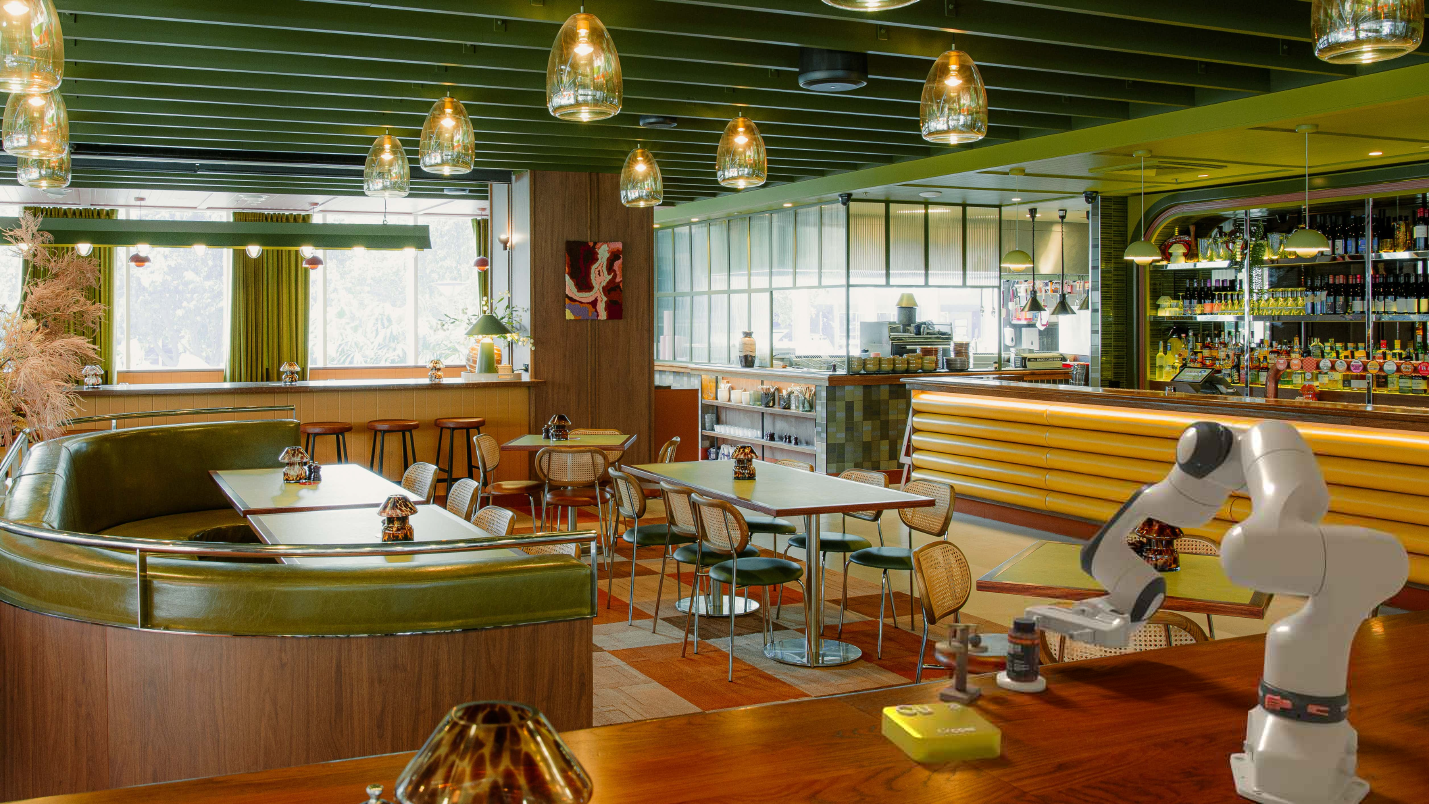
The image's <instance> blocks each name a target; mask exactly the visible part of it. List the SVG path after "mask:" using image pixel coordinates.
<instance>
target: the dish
mask: <svg viewBox="0 0 1429 804" xmlns="http://www.w3.org/2000/svg"><path fill="white" fill-rule="evenodd" d="M996 684H997V685H998V686H1000V688H1004V689H1005V690H1009V691H1012V692H1013V691H1014V692H1018V693H1019V692H1020V693H1038V692H1039V693H1040V692H1043V691H1044V690H1046V687H1047V686H1046V685H1047V681H1046V679H1045V678H1044V677H1043V676H1040V675H1038V679H1037V680H1036V681H1033V682H1019V681H1015V680H1011V679H1010V678H1008V677H1007V675H1006V671H1001V672H999V673H997V675H996Z"/></svg>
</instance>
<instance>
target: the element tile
mask: <svg viewBox="0 0 1429 804" xmlns="http://www.w3.org/2000/svg"><path fill="white" fill-rule="evenodd" d="M881 734H882V735H883V736H884V737H886V738H887V739H888V741H890V742H891V743H893V745H895V746H896V747H898V749H900V750H901V751H902V752H903V753H904V754H906V755H907V756H908V757H909V758H910V759H912V760H914V761H915V762H916V763H917V762H918V763H922V764H936V763H949V762H959V761H960V762H961V761H971V760H973V761H974V760H981V759H982V760H983V759H984V760H985V759H995V758H997V757H1000V755H1001V744H1002V742H1001V741H1002V738H1001V737H1002V731H1001V730H1000V728H998V727H997V726H995V725H994V724H992V723H991V722H990V721H988V720H987V719H984V718H983V717H982V716H980V715H979V714H978V713H976V712H975V711H973V710H971V709H970V708H969V707H967V705H963V704H960V703H957V702H950V701H949V702H939V703H937V702H936V703H923V704H910V705H909V704H908V705H906V704H900V705H891V706H885V707H884V708H883V709H882V714H881Z"/></svg>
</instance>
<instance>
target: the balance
mask: <svg viewBox="0 0 1429 804" xmlns="http://www.w3.org/2000/svg"><path fill="white" fill-rule="evenodd" d="M947 629H949V635H948V641H938V642H935V647H934V648H935V649H936V650H937V651H940V652H941V653H942V652H943V653H947V654H956V662H955V663H956V664H955V681H954V682H953V683H951V684H950V685H948V686H947V687H946V688H944V689H943V690H941V692H939V698H938V699H939V700H941V701H946V702H949V703H950V702H957V703H960V704H962V705H964V706H967V705H969V703H971V702H972V701H973V700H975V699H976V698H977V697H978V696H980V695H981V693H982V687H981V686H977V685H973V684H972V685H971V684H969V683H967V681H968V680H967V679H968V661H969V658H968V657H969V653H972V654H985V653H988V652H989V646H988V645H986V644H984V643H982V640H983V639H982V637H981V635H980V634H979V633H978V632H977V630H979V629H980V625H979V624H975V623H947ZM953 630H957V636H956V637H957V638H956V639H957V640H956V642H955V641H952V637H953V636H952V633H953ZM970 630H973V631H974V633H971V634H970Z"/></svg>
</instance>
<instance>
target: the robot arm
mask: <svg viewBox="0 0 1429 804" xmlns="http://www.w3.org/2000/svg"><path fill="white" fill-rule="evenodd" d="M1175 460H1176V463H1175V464H1174V465H1173V467H1172V469H1171V470H1170V472H1169V473H1168V475H1167V476H1166V477H1165V478H1164V479H1163V480H1161V481H1160V482H1157V481H1150V482H1148V483H1146V484H1145V485H1143V486H1141V487H1139V489H1137V490H1135V492H1134V493H1133V494H1131V496H1130V497H1129V498H1128V499H1127V500H1126V501H1125V502H1124V503H1123V504H1122V505H1121V506H1120V508H1119V509H1118V510H1117V511H1116V512H1115V513H1113V516H1111V518H1110V519H1109V520H1108V521H1107V522H1106V523H1105V524H1104V526H1102V527H1101V529H1100V530H1099V531H1098V532H1096V533H1095V535H1093V536H1091V538H1090V539H1089V540H1088V541H1087V542H1086V543H1085V544H1084V545H1083V546H1082V548H1081V549H1080V554H1079V560H1080V569H1081V570H1082V571H1083V572H1084V573H1086V574H1087V575H1088V576H1089V577H1091V578H1092V579H1094V581H1097V582H1098V583H1099V584H1100V585H1101V586H1102V587H1103V588H1104V589H1105V591H1107V592H1108V593H1109V594H1106V595H1103V596H1099V597H1092V598H1088V599H1083V600H1079V601H1077V602H1075V603H1074V604H1073V605H1072V606H1071V607H1070V609H1066V608H1063V607H1059V606H1054V605H1048V604H1046V605H1045V604H1044V605H1034V606H1029V607H1026V608H1025V612H1024V618H1030V619H1033V620H1034V621H1035V628H1034V629H1035V631H1036V630H1042V631H1047V632H1048V633H1052V634H1056V635H1060V636H1064V637H1067V638H1068V641H1071V642H1074V643H1077V642H1081V643H1083V644H1085V645H1096V646H1098V647H1099V646H1100V647H1103V648H1107V649H1117V648H1127V647H1129V645H1130V641H1131V634H1133V633H1134V632H1137V631H1139V630H1140V629H1142V628H1144V626H1145V625H1146V624H1147V623H1148V621H1149V620H1150V619H1151V618H1152V617H1153V616H1155V614H1157V613H1158V612H1159V610H1160V609H1161V608H1162V606H1163V604H1164V602H1165V601H1166V597H1167V582H1166V581H1167V580H1166V579H1165V577H1163V575H1161V574H1160V572H1159V571H1157V569H1155V568H1154V567H1153V566H1152V565H1151V564H1150V563H1149V562H1147V561H1145V560H1144V559H1143V558H1142V557H1141V556H1140V555H1139V554H1137V553H1136V552H1135V550H1133V549H1132V548H1130V546H1129V544H1128V543H1127V537H1128V536H1129V535H1130V533H1132V532H1133V530H1134V529H1135V528H1136V527H1137V526H1138V525H1139V524H1140V523H1141V522H1142V521H1143V519H1145V518H1150V519H1153V520H1157V521H1159V522H1162V523H1165V524H1167V525H1168V526H1172V527H1178V528H1185V529H1186V528H1187V529H1192V528H1198V527H1202V526H1205V525H1206V524H1209V523H1210V522H1211V521H1212V520H1213V519H1214V518H1216V516H1217V514H1218V512H1219V511H1220V510H1221V509H1222V507H1223V506H1224V504H1225V502H1226V501H1227V499H1228V498H1229V497H1230V495H1231V493H1232V492H1235V493H1238V494H1242V495H1243V494H1244V495H1247V496H1250V500H1251V506H1252V511H1251V513H1250V515H1249V516H1248V517H1247V518H1246V519H1244V520H1243V521H1240V522H1238V523H1236V524H1234V525H1232V527H1230V529H1228V530H1227V531H1226V533H1225V534H1224V536H1223V538H1222V540H1221V543H1220V547H1219V563H1220V565H1221V569H1222V571H1223V573H1224V574H1225V576H1226V578H1227V580H1229V581H1230V582H1231V583H1232V584H1233V585H1235V586H1237V587H1241V588H1244V589H1249V590H1252V591H1255V592H1260V593H1265V594H1271V595H1272V594H1274V595H1287V596H1288V595H1289V596H1301V597H1302V596H1303V597H1305V596H1306V597H1309V598H1308V599H1307V602H1306V604H1305V605H1304V606H1303V607H1302V608H1301V609H1300V610H1299V611H1297V612H1296V613H1295V614H1292V615H1289V616H1287V617H1284V618H1281V619H1280V620H1278V621H1276V622H1275V623H1274V624H1273V625H1271V627H1270V628H1269V629H1268V631H1267V634H1266V636H1265V637H1266V638H1265V649H1264V666H1263V676H1262V677H1261V678H1260V681H1259V686H1258V704H1257V705H1256V706H1255V707H1254V708H1251V710H1248V716H1247V728H1246V729H1247V730H1246V739H1245V740H1243V742H1242V746H1241V747H1242V748H1243V751H1244V752H1245V753H1243V752H1241V753H1240V752H1239V753H1232V754H1231V755H1230V760H1229V762H1230V766H1231V771H1232V776H1233V781H1234V783H1235V789H1236V792H1237V794H1238V795H1239V796H1242V797H1244V798H1247V799H1249V800H1252V801H1255V802H1258V803H1261V804H1359V803H1360V802H1361V801H1362V800H1363V799H1364V798H1365V797H1366V796H1367V795H1368V793H1370V789H1371V788H1370V787H1371V786H1370V782H1368V781H1366V780H1365V779H1362V778H1360V777H1358V776H1356V775H1357V773H1358V763H1357V756H1358V753H1359V746H1358V731H1357V730H1356V729H1355V728H1354V727H1353V726H1352V725H1351V724H1350V722H1349V721H1348V720H1347V717H1348V711H1349V707H1350V700H1349V692H1348V691H1347V689H1346V687H1347V676H1348V667H1349V662H1350V661H1349V660H1350V654H1351V648H1352V644H1353V641H1354V637H1355V635H1356V633H1357V632H1358V629H1359V627H1360V626H1361V625H1362V623H1363V621H1364V620H1365V619H1366V618H1367V616H1368V615H1369V614H1370V613H1371V612H1372V611H1373V610H1374V609H1375V608H1376V607H1378V606H1379V605H1381V604H1382V603H1384V601H1386V600H1388V599H1391V597H1394V596H1396V595H1397V594H1398V593H1399V592H1400V591H1401V590H1402V588H1403V587H1404V585H1405V584H1406V582H1407V580H1408V578H1409V573H1410V559H1409V555H1408V552H1407V550H1406V549H1405V546H1404V545H1403V543H1402V542H1401V541H1400V539H1398V537H1396V536H1395V535H1394V534H1392V533H1388V532H1385V531H1383V530H1382V531H1381V530H1377V529H1372V528H1368V527H1363V526H1358V525H1347V524H1345V525H1344V524H1343V525H1342V524H1326V523H1319V522H1320V521H1321V520H1323V518H1324V517H1325V516H1326V514H1327V513H1328V512H1329V509H1330V506H1331V505H1330V504H1331V494H1330V491H1329V489H1328V486H1327V483H1326V480H1325V478H1324V476H1323V473H1322V471H1321V468H1320V466H1319V464H1318V461H1317V458H1316V457H1315V454H1314V452H1313V450H1312V448H1311V447H1310V445H1309V443H1308V442H1307V440H1306V439H1305V438H1304V436H1303V435H1302V434H1301V433H1300V431H1299V430H1298V429H1297V428H1296V427H1295V426H1294V425H1293V424H1291V423H1289V422H1286V421H1284V420H1279V419H1267V420H1263V421H1260V422H1257V423H1255V424H1254V425H1252V426H1251V427H1250V428H1249V429H1248V430H1247V429H1244V428H1239V427H1235V426H1229V425H1223V424H1221V423H1219V422H1216V421H1206V420H1201V421H1200V420H1199V421H1195V422H1192V424H1190V425H1188V426H1187V427H1186V428H1185V429H1183V431H1182V433H1181V434H1180V437H1179V439H1178V442H1177V444H1176V448H1175Z"/></svg>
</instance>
